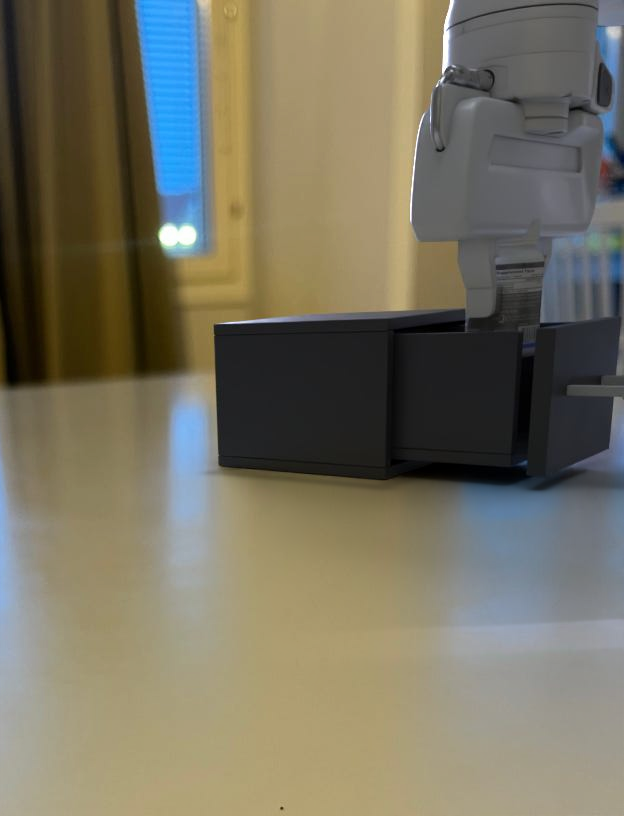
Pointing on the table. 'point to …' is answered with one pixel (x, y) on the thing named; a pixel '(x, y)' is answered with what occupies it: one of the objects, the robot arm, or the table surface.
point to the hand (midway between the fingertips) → (503, 314)
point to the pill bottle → (517, 289)
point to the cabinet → (313, 391)
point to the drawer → (505, 394)
